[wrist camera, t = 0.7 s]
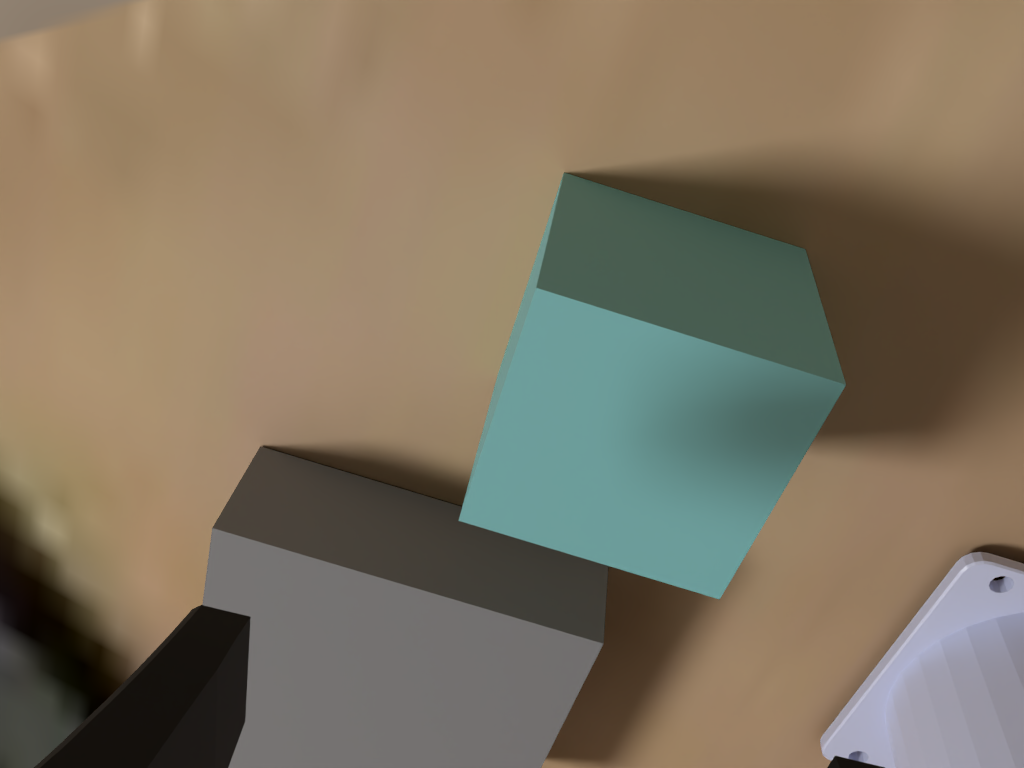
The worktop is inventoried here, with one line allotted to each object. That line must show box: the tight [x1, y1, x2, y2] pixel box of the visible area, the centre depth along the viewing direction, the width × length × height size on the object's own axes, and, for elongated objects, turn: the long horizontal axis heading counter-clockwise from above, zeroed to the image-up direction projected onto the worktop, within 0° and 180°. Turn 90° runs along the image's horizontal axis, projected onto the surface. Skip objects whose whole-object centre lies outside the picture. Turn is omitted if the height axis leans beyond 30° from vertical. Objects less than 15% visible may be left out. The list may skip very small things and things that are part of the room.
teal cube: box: [459, 173, 846, 599], centre depth 18 cm, size 5×5×5 cm
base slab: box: [203, 446, 608, 768], centre depth 25 cm, size 9×9×3 cm
